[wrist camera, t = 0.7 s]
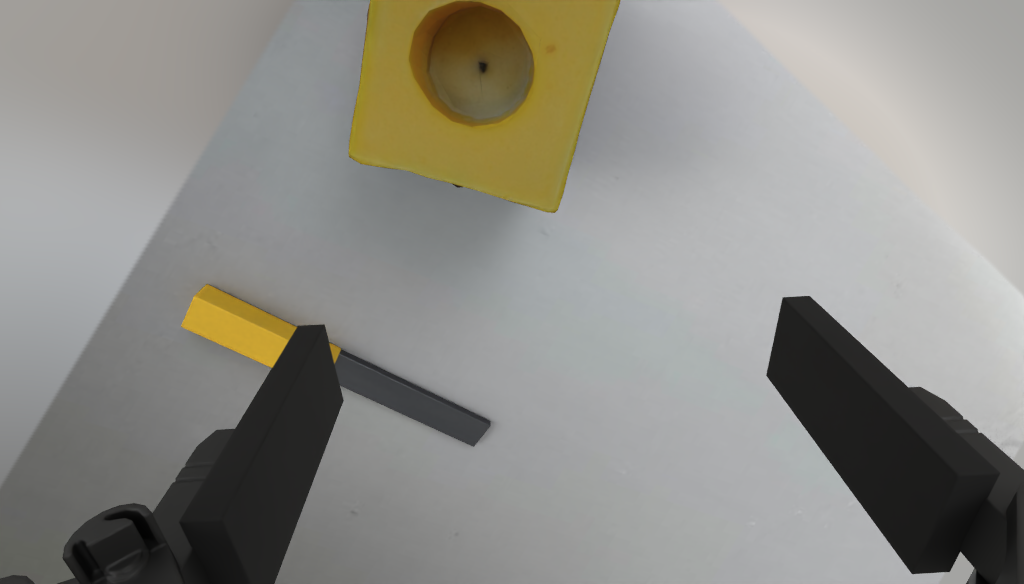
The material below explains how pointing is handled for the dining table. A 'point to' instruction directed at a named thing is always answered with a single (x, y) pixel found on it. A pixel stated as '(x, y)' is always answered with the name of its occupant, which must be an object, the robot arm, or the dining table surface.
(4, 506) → the dining table surface
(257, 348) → the knife
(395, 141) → the candle
